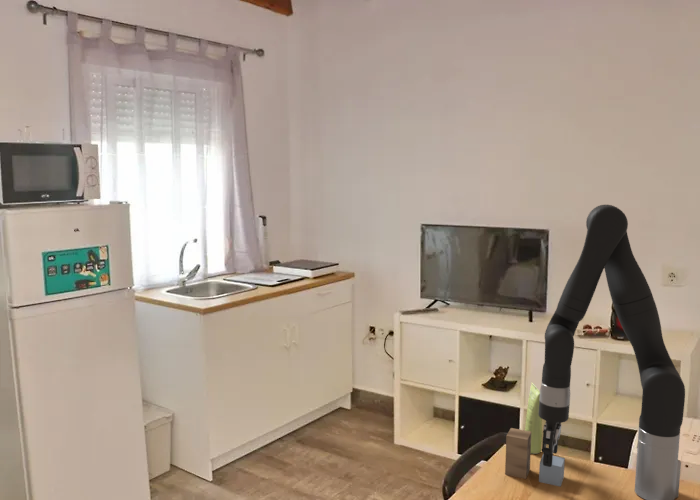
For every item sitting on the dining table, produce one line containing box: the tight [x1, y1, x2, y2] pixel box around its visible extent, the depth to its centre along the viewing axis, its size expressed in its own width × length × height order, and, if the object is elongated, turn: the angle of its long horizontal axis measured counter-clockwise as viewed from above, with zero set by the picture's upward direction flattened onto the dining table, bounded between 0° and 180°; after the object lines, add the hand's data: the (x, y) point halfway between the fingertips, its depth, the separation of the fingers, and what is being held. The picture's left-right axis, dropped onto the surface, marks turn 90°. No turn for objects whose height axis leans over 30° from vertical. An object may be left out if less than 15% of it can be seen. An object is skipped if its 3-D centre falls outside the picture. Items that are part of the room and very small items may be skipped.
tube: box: [524, 381, 543, 455], centre depth 181 cm, size 6×5×20 cm
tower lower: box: [504, 451, 532, 480], centre depth 170 cm, size 6×6×6 cm
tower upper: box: [505, 427, 531, 459], centre depth 169 cm, size 6×6×6 cm
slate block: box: [538, 455, 566, 487], centre depth 166 cm, size 6×6×6 cm
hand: (550, 458), depth 166 cm, fingers open, 8 cm apart
